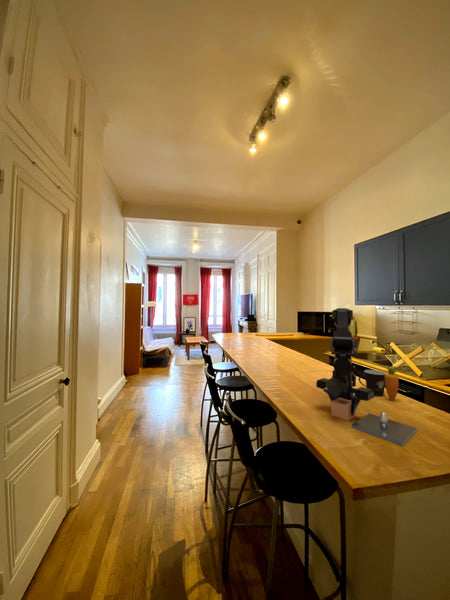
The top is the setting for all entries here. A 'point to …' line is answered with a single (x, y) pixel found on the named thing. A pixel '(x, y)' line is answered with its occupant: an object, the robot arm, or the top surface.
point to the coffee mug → (374, 381)
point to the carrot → (391, 383)
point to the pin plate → (385, 428)
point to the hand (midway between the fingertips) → (343, 412)
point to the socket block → (342, 409)
